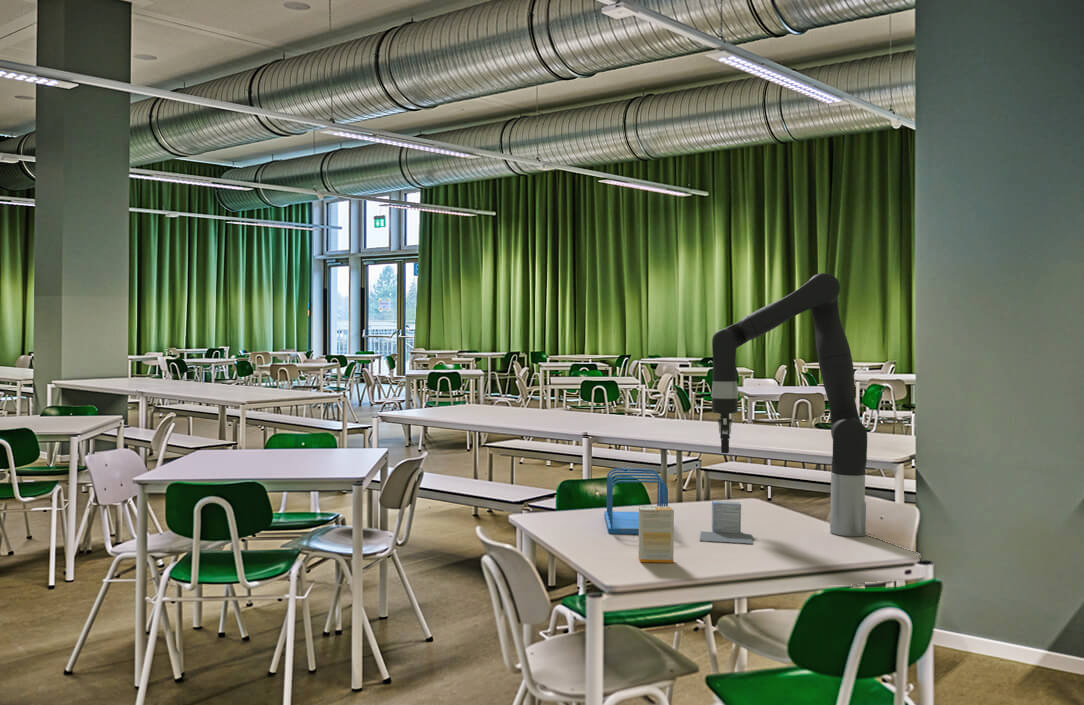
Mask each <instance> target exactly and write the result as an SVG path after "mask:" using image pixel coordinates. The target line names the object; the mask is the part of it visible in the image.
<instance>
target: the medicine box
mask: <svg viewBox="0 0 1084 705" xmlns="http://www.w3.org/2000/svg"><path fill="white" fill-rule="evenodd" d="M741 521H742V504H741V502H740V501H739V500H738V501H736V500H712V501H711V532H720V533H737V534H742V531H741V530H742V529H741V528H742V527H741V526H742V522H741Z"/></svg>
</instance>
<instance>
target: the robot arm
mask: <svg viewBox="0 0 1084 705" xmlns="http://www.w3.org/2000/svg"><path fill="white" fill-rule="evenodd" d="M840 291H841V285H840V281H839V279H837V277H836V276H835V275H833V274H831V273H827V272H821V273H817V274H814V275H813V276H812V277H811V278H810V279H809V280H808V281H807V282H805V283H804V284H802V285H801V286H800V287H799V288H798V289H796V290H794V291H793V292H791V293H789V294H788V295H785V297H782V298H780V299H778V300H776V301H774V302H771V303H769V304H768V305H767V304H766V305H765V306H762V307H761V308H759V309H757V310H755V311H752V313H749V314H748V315H746V316H744V317H742V318H741V319H740V320H739V321H737V322H735V323H733V324H731V325H729V326H726V327H725V328H722V329H719V330H717V331H716V332H715V333H714V334H713V336H712V339H711V345H712V346H711V349H712V350H711V351H712V362H713V363H712V385H711V412H712V413H714V414H720V416H719V417H720V418H718V419H717V424H718V434H719V436H720V437H719V439H720V447H721V448H720V451H721V454H729V452H730V439H731V436H730V435H731V434H732V425H733V421H732V420H733V419H732V418H730V414H737V413H738V411H739V404H738V403H739V399H738V398H739V396H738V395H739V394H738V393H739V392H738V369H737V362H736V361H737V348H739V347H741V346H743V345H744V344H746V343H747V342H750V341H752V340H754V339H757V338H759V337H761V336H763V335H765V334H766V333H768V332H771V331H772V330H774V329H775V328H777V327H779V326H780V325H782V324H784V323H785V322H787V321H789V320H791V319H792V318H793V317H795V316H797V315H799V314H801V313H804V312H806V311H808V310H810V312H811V315H812V318H813V324H814V333H815V334H814V336H815V346H816V347H815V348H816V354H817V360H818V365H819V372H820V376H821V380H822V384H823V387H824V388H823V389H824V391H825V395H826V396H827V401H828V405H829V417H830V435H831V439H832V460H831V464H830V465H831V466H830V467H831V468H830V469H831V470H830V512H829V513H830V519H829V520H830V522H829V523H830V524H829V530H830V533H831V534H833V535H837V536H844V537H866V535H867V534H866V533H867V531H866V527H867V524H866V523H867V521H866V520H867V502H866V499H865V498H866V467H867V462H868V459H867V458H868V456H867V455H868V432H867V428H866V426H865V425H864V423H862V422H861V418H860V415H859V411H858V408H857V404H856V399H855V370H854V363H853V358H852V353H851V348H850V344H849V341H848V337H847V334H846V332H845V330H844V328H843V325H842V321H841V317H840V311H839V310H840V309H839V298H838V297H839V296H840Z"/></svg>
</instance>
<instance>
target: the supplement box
mask: <svg viewBox="0 0 1084 705" xmlns="http://www.w3.org/2000/svg"><path fill="white" fill-rule="evenodd" d="M638 512H639V534H638V559H639V562H640V563H664V564H665V563H668V564H669V563H670V564H673V563H674V545H675V544H674V541H675V540H674V538H675V537H674V536H675V535H674V533H675V531H674V530H675V529H674V528H675V525H674V524H675V518H674V517H675V515H674V514H675V510H674V509H673V506H669V505H668V506H664V505H663V506H657V505H656V506H655V505H651V506H650V505H649V506H647V505H644V506H643V505H640V506H638Z"/></svg>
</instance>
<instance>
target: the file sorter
mask: <svg viewBox="0 0 1084 705" xmlns="http://www.w3.org/2000/svg"><path fill="white" fill-rule="evenodd" d="M618 483H652V484H653V483H655V484H657V495H656V496H657V497H656V498H657V501H656V503H657V504H656V506H669V492H668V491H669V490H668V489H669V488H668V486H667V485H666V483H665V481H664V480H663V479H662V478H661V476H660V474H659V473H658V471H656V470H655V469H654V468H653V469H651V468H613V469H611V470H610V471H608V473H607V475H606V511H604V514H603V515H604V520H605V525H606V529H607V534H611V535H613V534H614V535H620V534H621V535H639V511H618V510H617V511H613V504H614V503H613V493H614V492H613V491H614V490H613V489H614V487H615V485H616V484H618Z"/></svg>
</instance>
